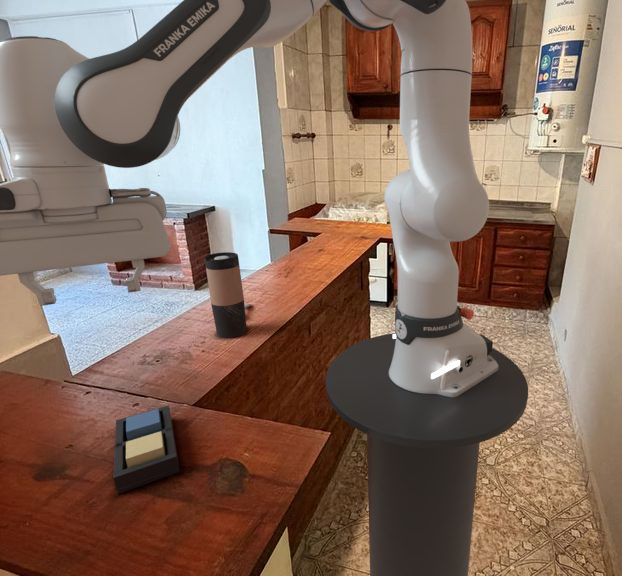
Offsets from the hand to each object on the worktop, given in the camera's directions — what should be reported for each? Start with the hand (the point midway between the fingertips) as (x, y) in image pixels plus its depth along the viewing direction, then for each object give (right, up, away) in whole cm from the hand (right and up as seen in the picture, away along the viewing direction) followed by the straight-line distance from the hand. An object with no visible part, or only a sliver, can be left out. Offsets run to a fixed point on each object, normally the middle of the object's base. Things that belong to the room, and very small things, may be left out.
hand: (93, 297), depth 53 cm
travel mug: (0, -10, +48) cm, 49 cm away
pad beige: (+5, -24, +5) cm, 25 cm away
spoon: (-1, -6, +60) cm, 60 cm away
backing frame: (+3, -24, +7) cm, 25 cm away
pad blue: (+1, -22, +10) cm, 24 cm away
